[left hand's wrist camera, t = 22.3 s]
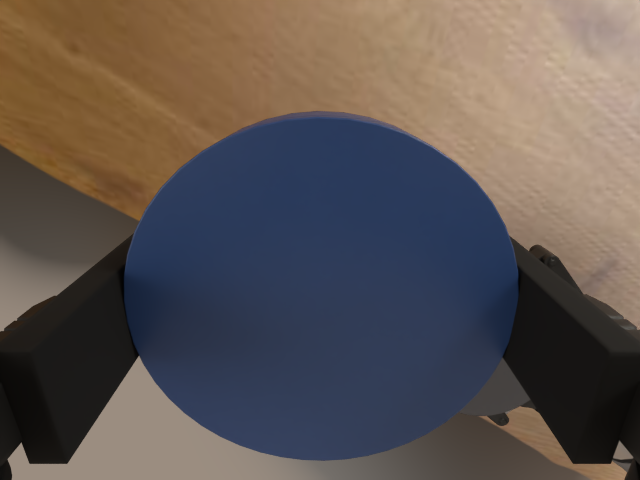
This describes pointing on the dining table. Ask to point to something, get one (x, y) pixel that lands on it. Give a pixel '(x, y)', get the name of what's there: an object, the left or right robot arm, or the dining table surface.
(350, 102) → the dining table surface
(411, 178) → the lid
